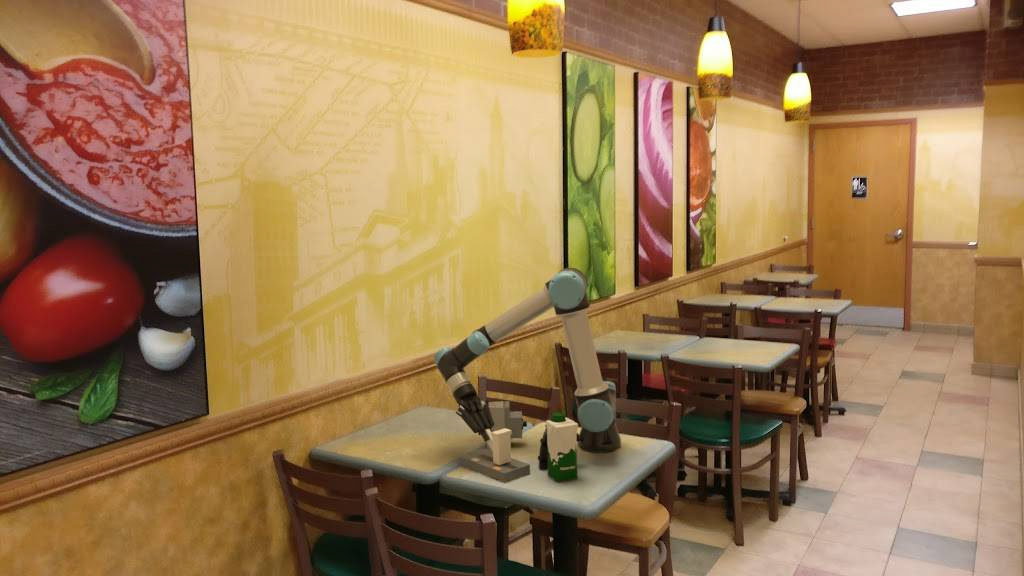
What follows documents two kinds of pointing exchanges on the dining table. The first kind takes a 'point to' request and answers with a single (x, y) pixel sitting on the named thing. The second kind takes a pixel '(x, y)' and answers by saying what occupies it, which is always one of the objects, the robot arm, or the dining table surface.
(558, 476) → the milk carton
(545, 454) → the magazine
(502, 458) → the cream rectangular box
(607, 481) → the dining table surface
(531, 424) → the dining table surface
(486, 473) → the switch panel
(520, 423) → the circuit breaker
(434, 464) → the dining table surface
